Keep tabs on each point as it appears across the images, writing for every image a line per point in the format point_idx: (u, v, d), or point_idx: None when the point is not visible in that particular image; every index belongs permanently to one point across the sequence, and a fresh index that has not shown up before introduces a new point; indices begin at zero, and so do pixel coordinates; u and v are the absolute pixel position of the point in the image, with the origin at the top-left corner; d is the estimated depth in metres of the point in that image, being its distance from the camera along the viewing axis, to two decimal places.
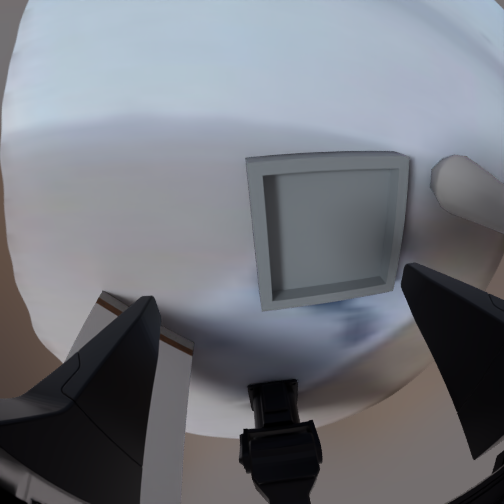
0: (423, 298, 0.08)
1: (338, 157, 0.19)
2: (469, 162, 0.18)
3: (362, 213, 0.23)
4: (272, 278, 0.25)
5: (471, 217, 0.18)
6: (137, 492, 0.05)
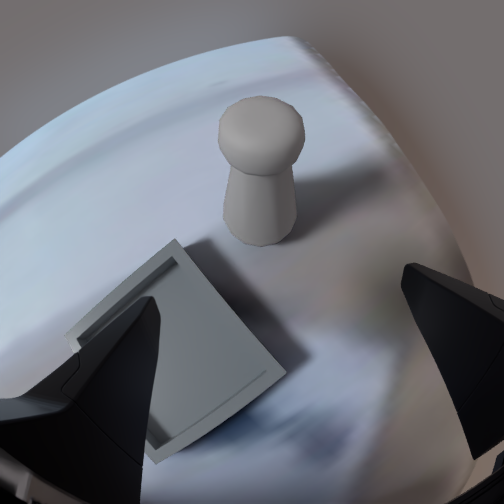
0: (423, 298, 0.08)
1: (115, 289, 0.21)
2: None
3: (184, 321, 0.21)
4: (152, 430, 0.19)
5: (260, 217, 0.18)
6: (137, 492, 0.05)
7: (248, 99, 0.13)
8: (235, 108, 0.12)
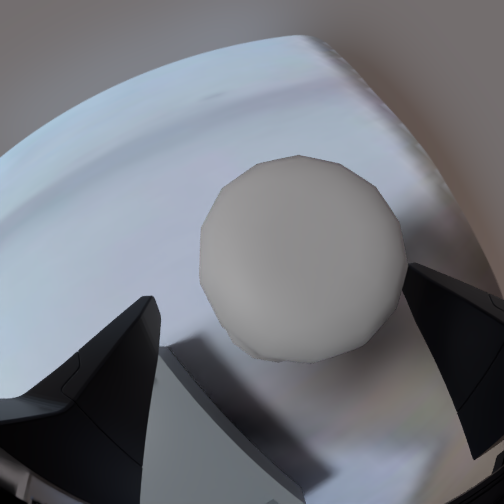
0: (423, 298, 0.08)
1: None
2: None
3: (175, 445, 0.14)
4: None
5: None
6: (137, 492, 0.05)
7: (275, 171, 0.05)
8: (241, 202, 0.05)
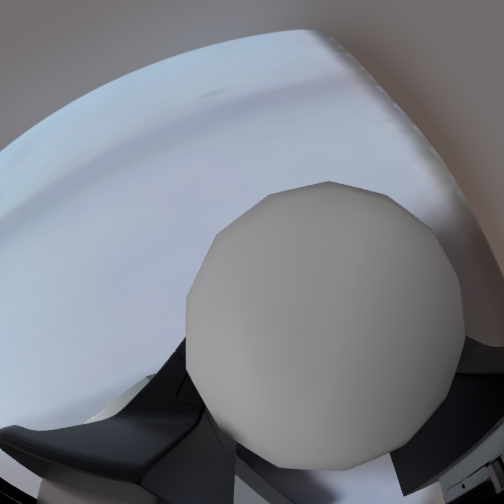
0: None
1: None
2: None
3: None
4: None
5: None
6: (232, 498, 0.05)
7: (299, 211, 0.03)
8: (247, 267, 0.03)
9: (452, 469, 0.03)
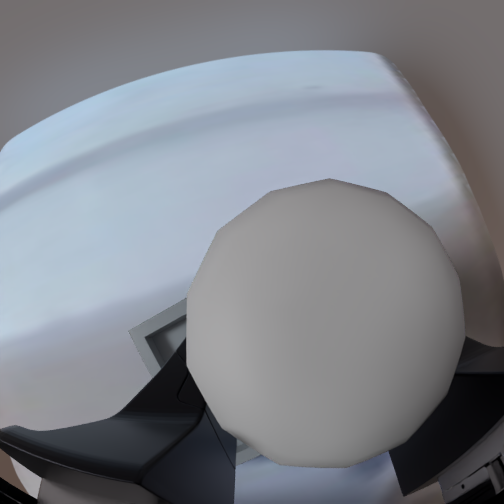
0: None
1: None
2: None
3: None
4: None
5: None
6: (232, 498, 0.05)
7: (300, 208, 0.03)
8: (248, 263, 0.03)
9: (451, 469, 0.03)
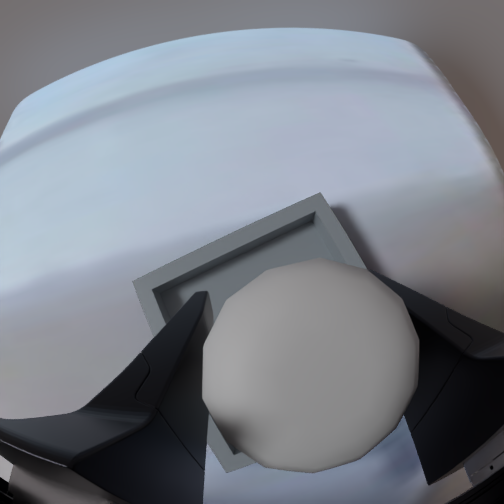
0: None
1: (230, 234, 0.17)
2: None
3: None
4: None
5: None
6: (201, 498, 0.05)
7: (291, 293, 0.04)
8: (250, 335, 0.04)
9: (478, 453, 0.03)
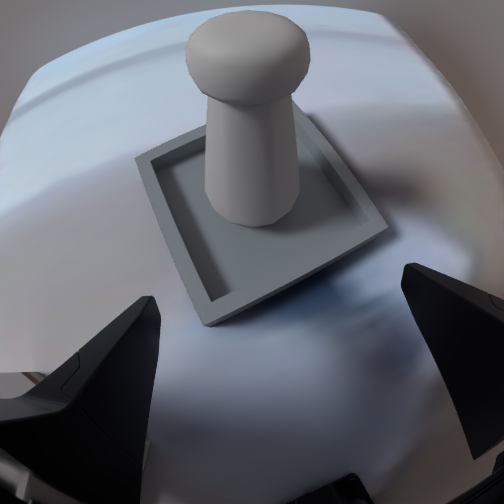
0: (423, 298, 0.08)
1: None
2: None
3: None
4: (209, 284, 0.18)
5: (248, 181, 0.13)
6: (137, 492, 0.05)
7: (231, 12, 0.07)
8: (212, 20, 0.07)
9: None
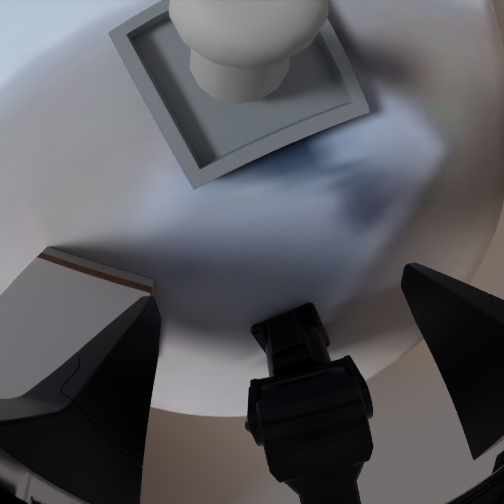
0: (423, 298, 0.08)
1: None
2: None
3: None
4: (196, 147, 0.18)
5: (237, 86, 0.11)
6: (137, 492, 0.05)
7: None
8: None
9: None
